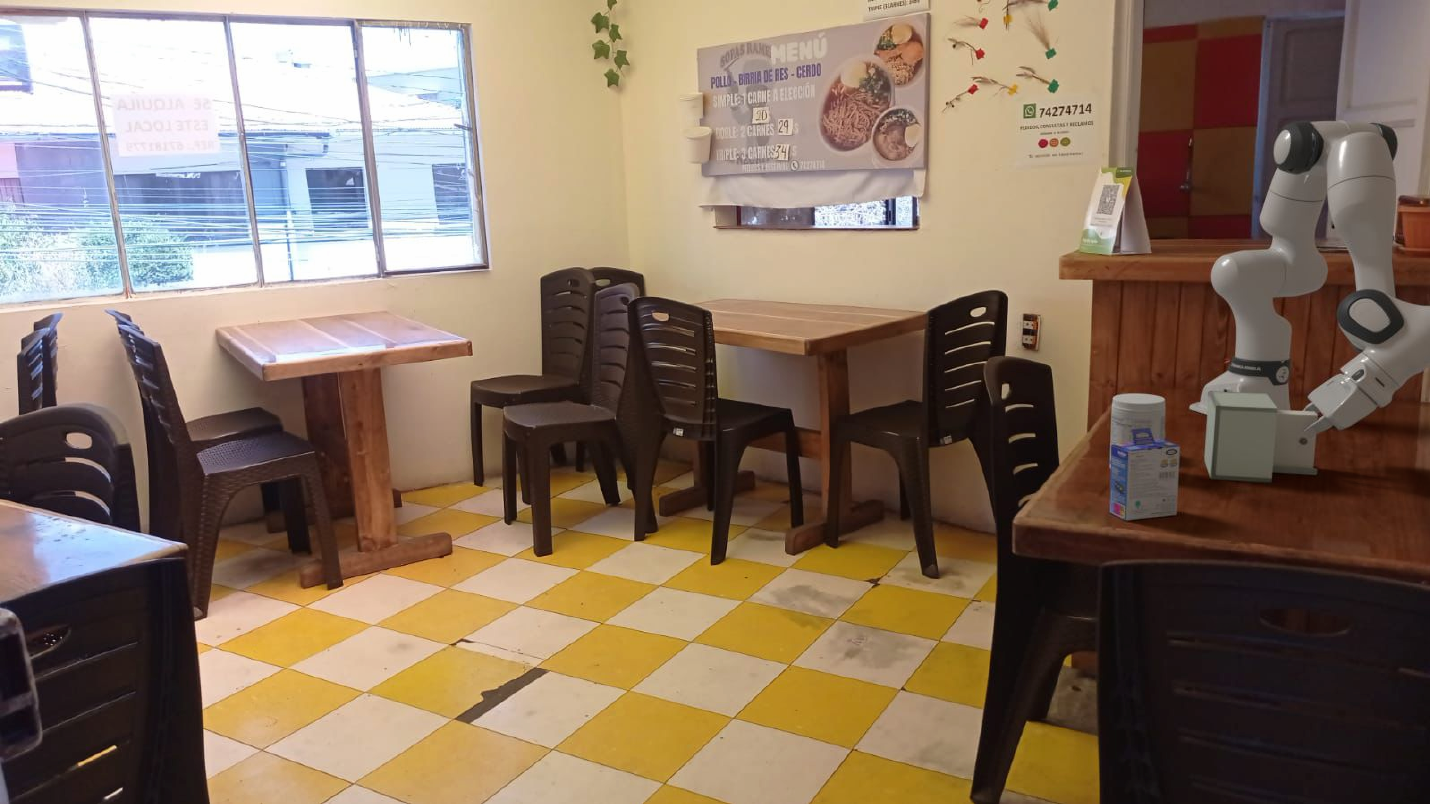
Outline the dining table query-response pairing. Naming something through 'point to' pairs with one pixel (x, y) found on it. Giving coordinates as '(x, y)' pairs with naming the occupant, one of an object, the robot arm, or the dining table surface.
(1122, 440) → the supplement tub
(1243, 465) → the cabinet
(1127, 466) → the ink cartridge box
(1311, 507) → the dining table surface
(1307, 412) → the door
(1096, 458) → the dining table surface
